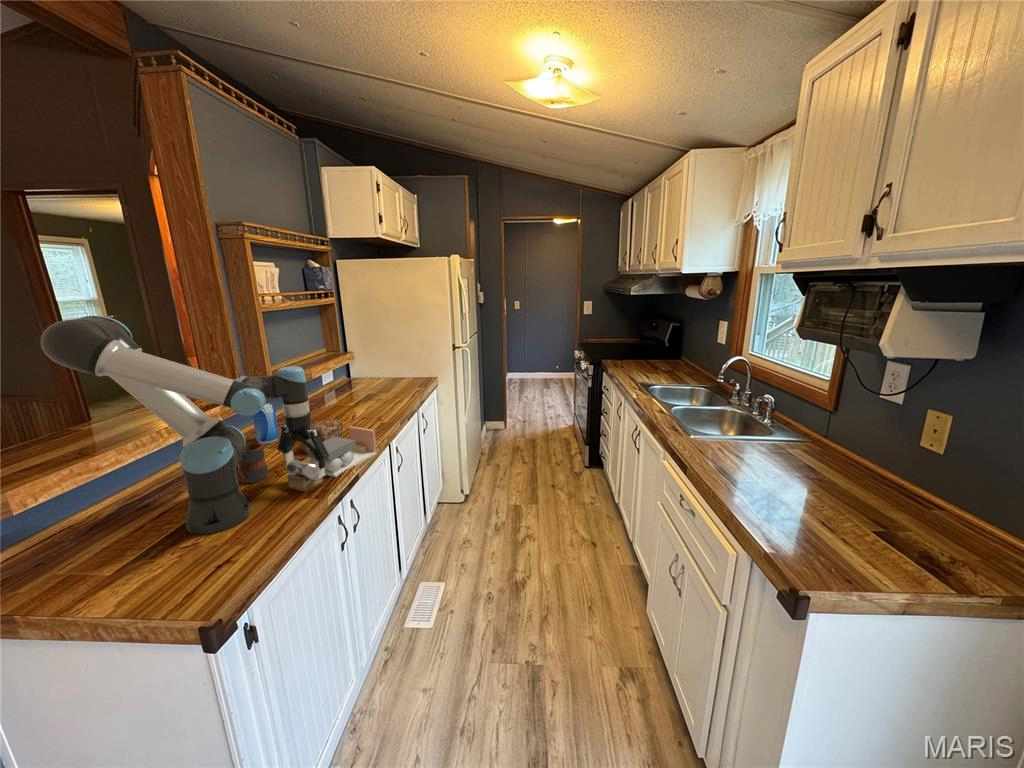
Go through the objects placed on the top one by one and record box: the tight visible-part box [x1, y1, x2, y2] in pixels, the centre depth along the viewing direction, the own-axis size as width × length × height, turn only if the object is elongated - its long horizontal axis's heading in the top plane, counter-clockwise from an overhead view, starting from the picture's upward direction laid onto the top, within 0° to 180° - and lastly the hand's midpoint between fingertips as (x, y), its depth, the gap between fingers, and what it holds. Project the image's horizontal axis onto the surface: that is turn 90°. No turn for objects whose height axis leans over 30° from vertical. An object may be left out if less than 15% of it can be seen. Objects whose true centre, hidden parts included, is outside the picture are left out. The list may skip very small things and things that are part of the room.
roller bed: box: [309, 426, 378, 478], centre depth 154 cm, size 12×22×10 cm, turn 159°
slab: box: [306, 437, 356, 461], centre depth 149 cm, size 10×13×3 cm
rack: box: [286, 473, 324, 492], centre depth 138 cm, size 8×7×4 cm
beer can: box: [252, 403, 280, 445], centre depth 174 cm, size 8×8×16 cm
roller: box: [286, 459, 317, 480], centre depth 137 cm, size 10×5×5 cm, turn 69°
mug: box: [236, 442, 269, 484], centre depth 139 cm, size 9×12×12 cm
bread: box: [299, 418, 343, 453], centre depth 171 cm, size 19×11×10 cm, turn 1°
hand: (306, 473), depth 137 cm, fingers open, 13 cm apart
